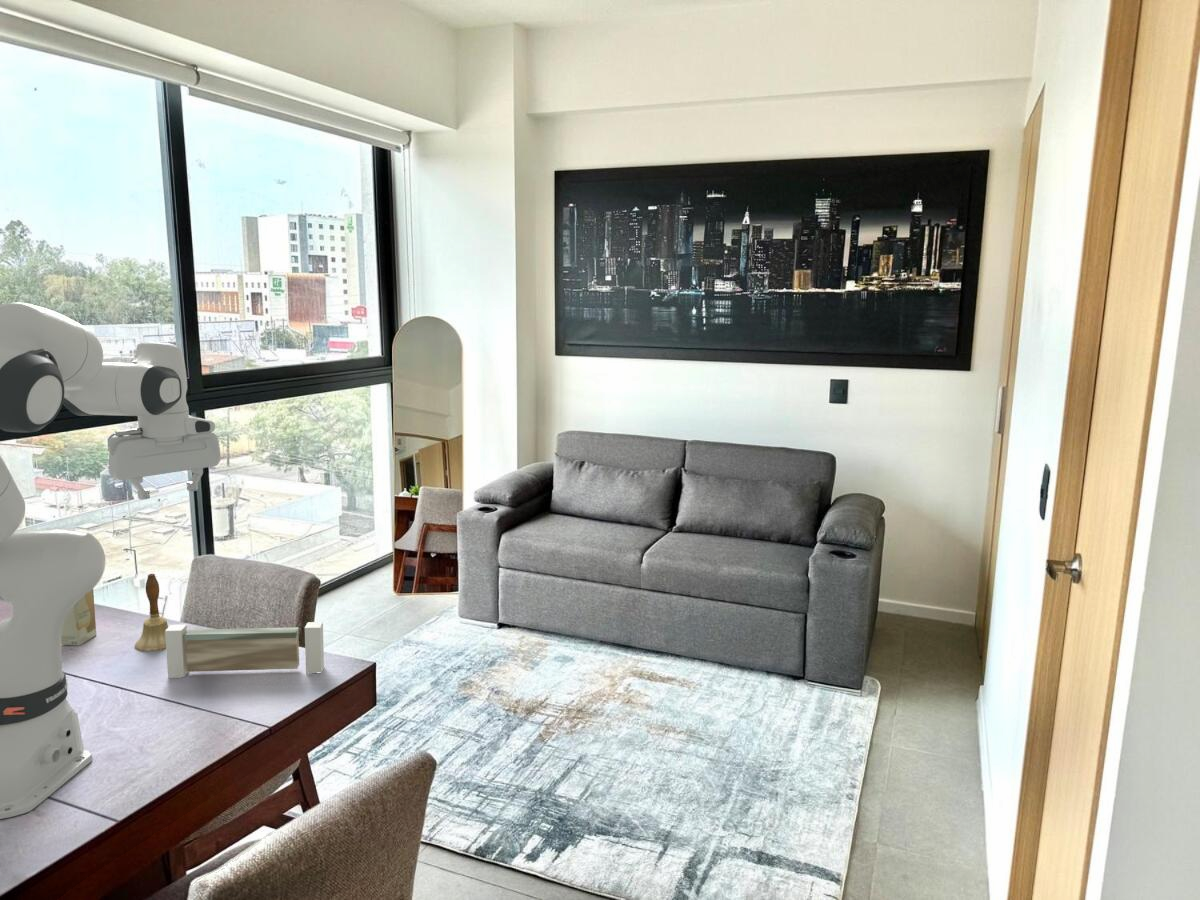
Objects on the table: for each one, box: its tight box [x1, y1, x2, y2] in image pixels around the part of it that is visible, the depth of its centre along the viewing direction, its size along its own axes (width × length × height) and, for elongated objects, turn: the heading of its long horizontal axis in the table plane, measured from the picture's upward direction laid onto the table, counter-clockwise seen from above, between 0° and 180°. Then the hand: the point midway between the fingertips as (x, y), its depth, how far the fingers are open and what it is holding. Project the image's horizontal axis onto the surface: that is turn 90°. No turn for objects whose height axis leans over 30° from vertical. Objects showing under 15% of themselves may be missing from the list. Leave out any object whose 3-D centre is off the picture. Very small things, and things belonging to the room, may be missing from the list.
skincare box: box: [61, 588, 97, 646], centre depth 180 cm, size 6×4×12 cm
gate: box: [185, 626, 300, 673], centre depth 167 cm, size 3×21×8 cm, turn 98°
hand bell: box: [134, 573, 169, 652], centre depth 179 cm, size 8×8×16 cm
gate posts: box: [165, 621, 325, 679], centre depth 167 cm, size 3×30×10 cm, turn 98°
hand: (168, 494), depth 163 cm, fingers open, 8 cm apart
